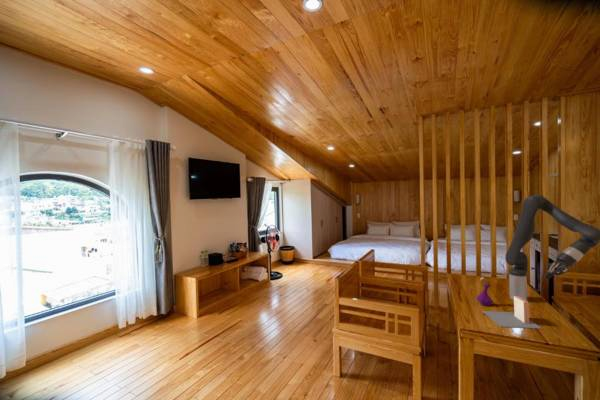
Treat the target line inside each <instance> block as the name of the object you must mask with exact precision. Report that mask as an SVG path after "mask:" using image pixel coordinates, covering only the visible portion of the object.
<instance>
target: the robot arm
mask: <svg viewBox="0 0 600 400" xmlns="http://www.w3.org/2000/svg"><path fill="white" fill-rule="evenodd" d="M538 210H541V211H543V212H544V213H547V214H548V215H550V216H551V217H552V218H553V219H554V220H555V221H556V222H557V223H558V224H559V225H561V226H562V227H565V229H567V230H569V231H571V232H573V233H578V234H580V235H581V237H580V238H579V239H577V240H576V241H573V242H572V243H571V244H570V245H569V246H568V247H567V248H565V249H564V250H563V251H561V252H560V253H559V254H558V255H557V256H555V261H553V262H552V263H550V262H548V263H547V265H546V269H545V270H546V271H547V272H546V273H545V274H544V275H543V276H542V277H543V279H545V280H549V279H551V278H552V277H553V276H557V277H558V276H560V275H563V274H567V273H569V270H568V268H572V267H573V266H574V265H576V264H577V263H578V262H579V261H580V260H581V259H582V258H583V257H584V256H585V255H586V254H587V253H588V252H589V251H590V250H591V249H592V248H594V247H596V246H598V244H599V243H600V229H599V228H598V227H595V226H593V225H590V224H588V223H587V222H582V221H581V220H579V219H577V218H576V217H574V216H573V215H570V214H568V212H566V211H564V210H562V208H559V207H558V206H557V205H555V204H554V203H552V202H551V201H550V200H548V198H546V197H545V196H543V195H541V194H533V195H528V196H527V197H526V198H524V199H523V203H522V206H521V212H520V216H519V218H518V222H517V224H516V227H515V231H514V233H513V236H512V240H511V243H510V246H509V247H508V249H507V252H506V253H505V257H504V258H505V259H504V260H505V262H506V264H508V265H509V266H513V267H512V268H510V269H509V270H508V277H509V278H508V281H509V283H508V284H509V298H510V300H513V301H514V296H519V297H521V298H522V299H524V300H526V301H528V288H527V287H528V285H527V284H528V283H527V273H528V270H529V269H528V266H529V265H528V263H529V262H528V256H527V254H526V253H525V252H524V251H521V250H522V249H523V248H524V246H526V245H527V244H528V243H529V242H530V241H531V240H532V239H533V236H534V233H535V230H536V225H535V217H536V214H537V212H538Z"/></svg>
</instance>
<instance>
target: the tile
mask: <svg viewBox="0 0 600 400" xmlns="http://www.w3.org/2000/svg"><path fill="white" fill-rule="evenodd" d="M529 306H530V305H529V301H528V300H527V301H526V300H524V299H522V298H521V297H519V296H514V300H513V309H514V310H513V311H514V316H515V317H517V318H518V319H519V320H521V321H522V322H524V323H529V320H530V309H529V308H530V307H529Z"/></svg>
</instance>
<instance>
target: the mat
mask: <svg viewBox="0 0 600 400" xmlns="http://www.w3.org/2000/svg"><path fill="white" fill-rule="evenodd" d="M482 313H484V315H485V316H487V317H488V318H490V320H492V321H493V322H494V323H495V324H496V325H498V326H499V327H500V328H517V329H531V330H532V329H537V330H542V329H543V327H541V326H539V325H538V324H536V323H535V322H534V321H532V320H531V319H529V323H524V322H522V321H521V320H519V319H518V318H517V317H515V316H514V312H511V311H490V310H488V311H487V310H486V311H485V310H482Z"/></svg>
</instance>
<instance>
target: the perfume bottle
mask: <svg viewBox="0 0 600 400" xmlns="http://www.w3.org/2000/svg"><path fill="white" fill-rule="evenodd" d="M482 280H485V282H484V283H483V285H482V286H483V287H484V288H483V290H482V291H481V292H480V294H479V295H477V296H476V299H477V300H478V302H479V303H480V304H481V306H484V307H485V306H486V307H490V306H491V305H492V304H494V301H493V300H492V298H491V297H490V296H489V294H488V290H489V288H490V287H491V284H490V282H489V281H488V280H487V279H486V278H485V277H483V276H482V277H480V280H479V281H482Z"/></svg>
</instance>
